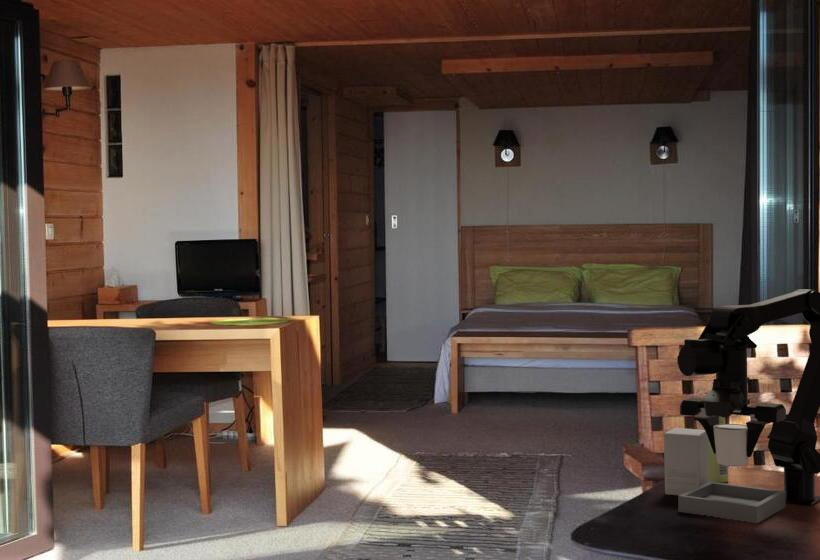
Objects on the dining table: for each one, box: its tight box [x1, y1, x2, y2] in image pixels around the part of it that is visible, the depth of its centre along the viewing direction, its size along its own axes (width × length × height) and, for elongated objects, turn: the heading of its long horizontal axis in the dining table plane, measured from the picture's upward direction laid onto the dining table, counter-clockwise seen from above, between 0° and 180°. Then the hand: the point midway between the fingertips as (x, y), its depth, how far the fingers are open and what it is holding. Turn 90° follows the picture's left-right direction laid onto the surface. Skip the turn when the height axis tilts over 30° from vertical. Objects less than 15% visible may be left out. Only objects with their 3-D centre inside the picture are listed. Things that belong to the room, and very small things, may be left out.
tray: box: [677, 482, 787, 524], centre depth 200 cm, size 15×15×3 cm
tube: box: [709, 416, 729, 484], centre depth 225 cm, size 6×5×20 cm
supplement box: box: [663, 427, 710, 496], centre depth 214 cm, size 7×7×13 cm
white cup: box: [713, 423, 750, 467], centre depth 200 cm, size 7×7×7 cm
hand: (732, 455), depth 200 cm, fingers closed on white cup, 6 cm apart
